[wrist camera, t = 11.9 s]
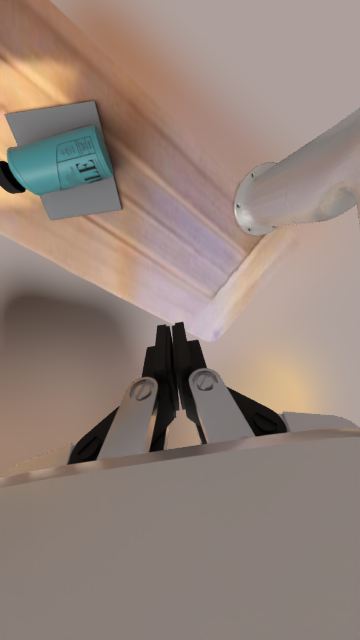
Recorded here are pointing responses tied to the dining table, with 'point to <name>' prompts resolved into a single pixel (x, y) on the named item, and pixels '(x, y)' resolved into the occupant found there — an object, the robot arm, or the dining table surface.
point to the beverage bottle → (56, 162)
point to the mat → (52, 123)
